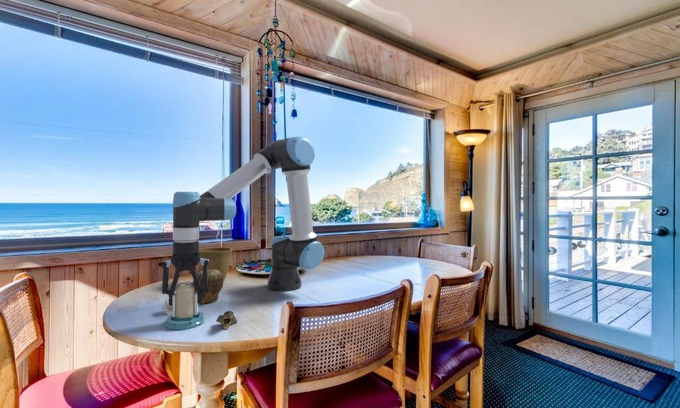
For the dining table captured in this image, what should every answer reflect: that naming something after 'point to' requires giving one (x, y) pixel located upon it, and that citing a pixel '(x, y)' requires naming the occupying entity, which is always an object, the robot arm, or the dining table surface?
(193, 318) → the candle dish
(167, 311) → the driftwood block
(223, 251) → the plant pot
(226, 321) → the shark head
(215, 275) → the brown rough lump
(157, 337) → the dining table surface
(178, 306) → the candle
